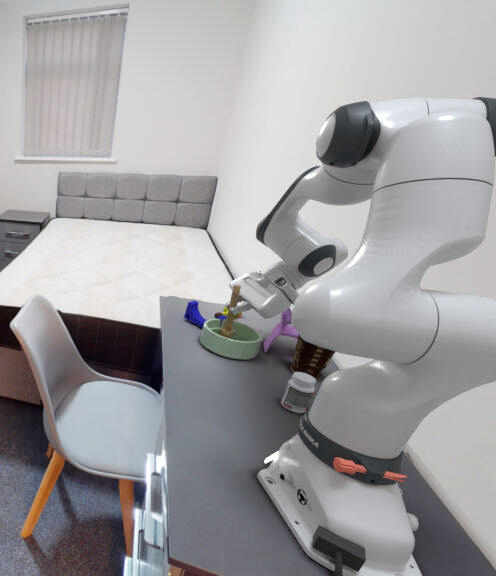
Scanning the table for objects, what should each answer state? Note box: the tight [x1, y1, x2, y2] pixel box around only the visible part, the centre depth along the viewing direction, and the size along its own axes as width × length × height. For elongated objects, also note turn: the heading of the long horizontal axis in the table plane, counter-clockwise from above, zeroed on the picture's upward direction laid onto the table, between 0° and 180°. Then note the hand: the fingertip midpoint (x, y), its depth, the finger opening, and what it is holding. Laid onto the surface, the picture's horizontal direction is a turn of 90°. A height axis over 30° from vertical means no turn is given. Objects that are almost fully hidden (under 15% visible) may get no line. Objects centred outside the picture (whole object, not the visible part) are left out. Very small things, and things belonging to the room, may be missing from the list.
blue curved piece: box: [183, 300, 227, 329], centre depth 121 cm, size 12×4×6 cm, turn 25°
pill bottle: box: [280, 372, 317, 414], centre depth 85 cm, size 5×5×8 cm
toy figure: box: [213, 304, 243, 320], centre depth 124 cm, size 18×6×7 cm, turn 119°
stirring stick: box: [220, 285, 241, 337], centre depth 108 cm, size 4×4×16 cm
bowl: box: [199, 318, 264, 360], centre depth 109 cm, size 15×15×6 cm
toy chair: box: [263, 306, 298, 353], centre depth 106 cm, size 8×9×15 cm
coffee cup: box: [289, 332, 336, 380], centre depth 97 cm, size 9×8×13 cm
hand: (229, 309), depth 108 cm, fingers closed on stirring stick, 2 cm apart
